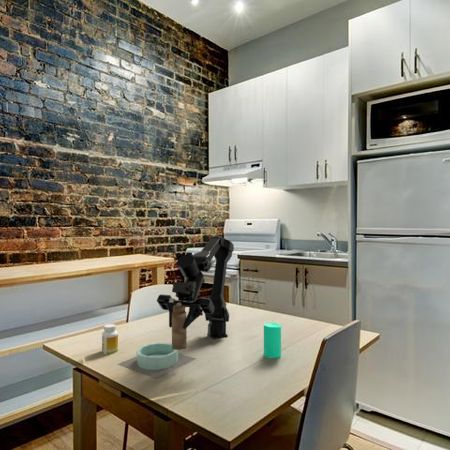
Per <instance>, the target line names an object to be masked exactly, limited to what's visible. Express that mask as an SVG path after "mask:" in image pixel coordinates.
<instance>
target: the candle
mask: <svg viewBox="0 0 450 450" xmlns="http://www.w3.org/2000/svg"><path fill="white" fill-rule="evenodd" d="M271 321H272V322H267V323H265V324H263V356H264V357H265V358H268V359H269V358H270V359H278V358H281V356H282V325H281V324H279V323H277V322H274V320H271Z"/></svg>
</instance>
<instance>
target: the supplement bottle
mask: <svg viewBox="0 0 450 450" xmlns="http://www.w3.org/2000/svg"><path fill="white" fill-rule="evenodd" d="M116 328H117V325H116V324H112V323H110V324H109V323H108V324H105V325H104V326H103V330H104V331H103V332H102V334H101V353H102V354H103V355H113V354H114V355H115V353H118V352H119V332H118V331H117V330H116Z"/></svg>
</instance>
